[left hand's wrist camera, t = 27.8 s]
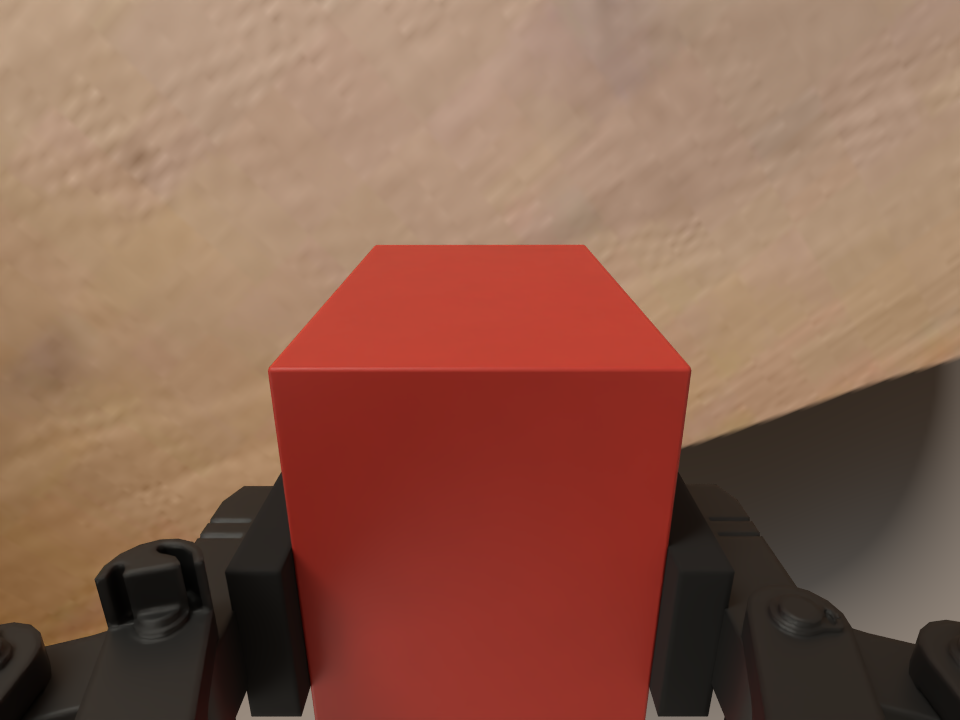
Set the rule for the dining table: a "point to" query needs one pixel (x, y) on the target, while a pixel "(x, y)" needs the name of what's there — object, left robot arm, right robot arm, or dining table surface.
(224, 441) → the dining table surface
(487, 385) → the block
